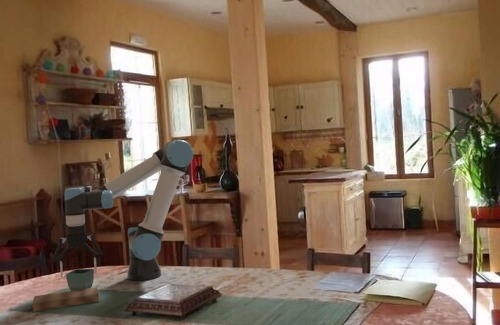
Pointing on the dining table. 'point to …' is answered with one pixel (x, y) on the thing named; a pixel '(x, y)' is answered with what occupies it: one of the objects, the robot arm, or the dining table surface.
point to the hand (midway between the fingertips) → (79, 275)
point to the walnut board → (65, 299)
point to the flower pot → (80, 279)
